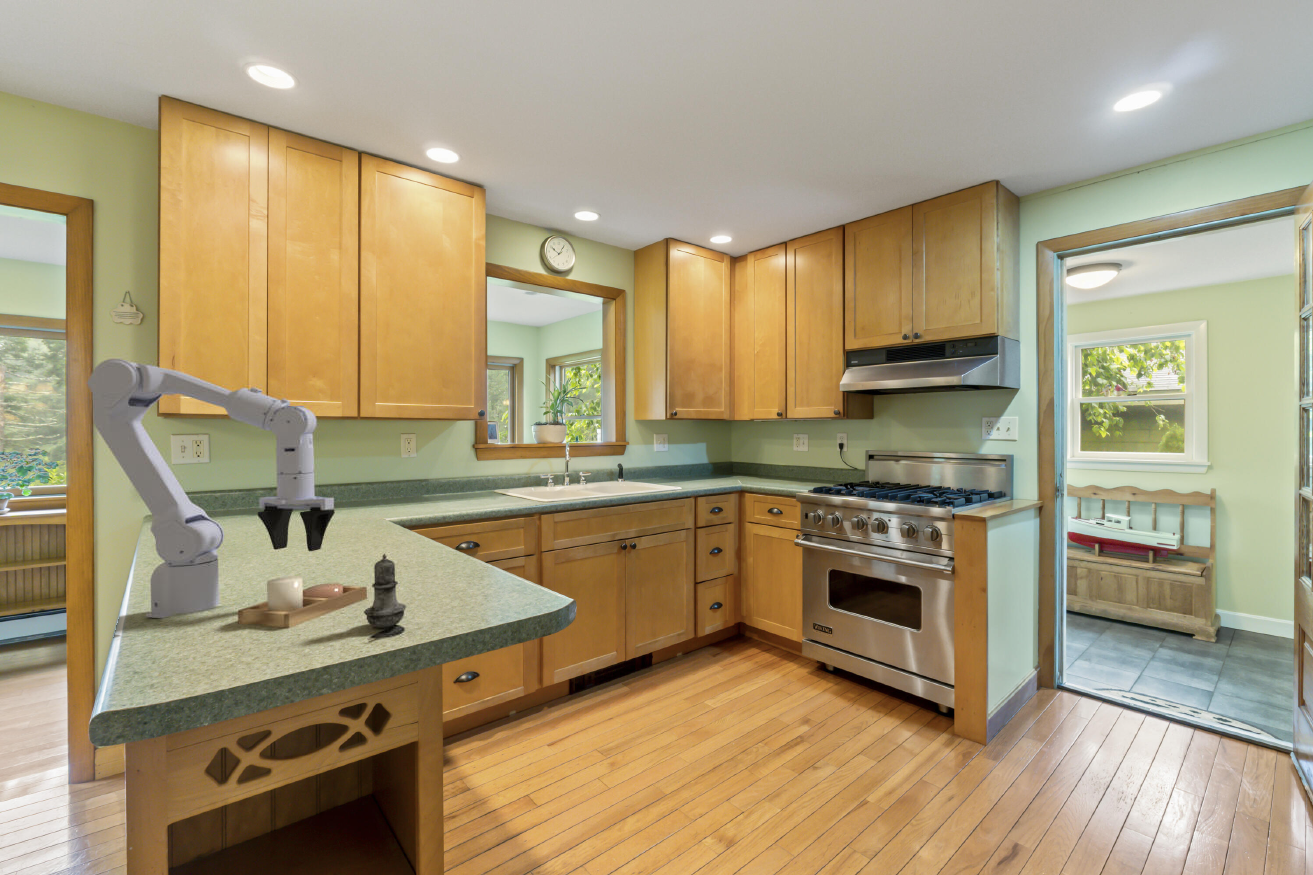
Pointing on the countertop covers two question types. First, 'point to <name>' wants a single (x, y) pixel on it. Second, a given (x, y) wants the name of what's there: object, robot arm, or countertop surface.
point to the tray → (301, 609)
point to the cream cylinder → (285, 594)
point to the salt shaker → (385, 601)
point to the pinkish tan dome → (325, 590)
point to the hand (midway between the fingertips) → (297, 549)
